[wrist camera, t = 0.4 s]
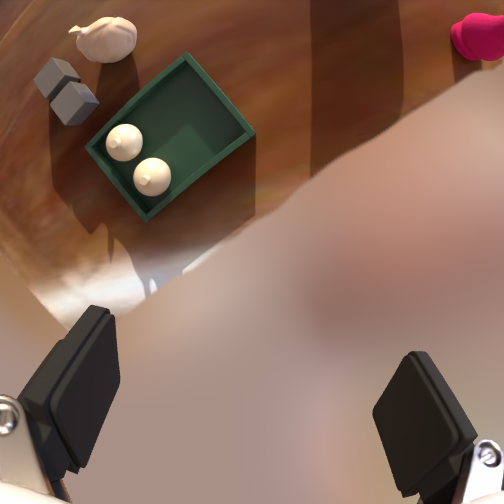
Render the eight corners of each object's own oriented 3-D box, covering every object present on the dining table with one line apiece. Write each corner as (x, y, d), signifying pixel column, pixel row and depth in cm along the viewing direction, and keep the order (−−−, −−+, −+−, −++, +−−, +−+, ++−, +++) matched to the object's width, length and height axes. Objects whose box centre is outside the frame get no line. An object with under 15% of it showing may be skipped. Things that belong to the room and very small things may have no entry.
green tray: (191, 56, 30) (187, 51, 28) (256, 133, 34) (256, 133, 32) (93, 145, 34) (83, 147, 32) (151, 217, 38) (145, 223, 35)
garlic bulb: (122, 16, 28) (96, -5, 20) (152, 40, 29) (129, 20, 22) (88, 53, 29) (55, 41, 22) (115, 78, 31) (85, 68, 23)
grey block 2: (85, 84, 31) (69, 80, 27) (100, 103, 32) (85, 101, 28) (65, 105, 32) (49, 104, 28) (80, 125, 33) (64, 125, 29)
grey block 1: (67, 61, 29) (51, 57, 26) (81, 78, 30) (65, 75, 27) (49, 82, 30) (32, 80, 26) (61, 100, 31) (45, 98, 28)
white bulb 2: (159, 149, 34) (145, 151, 29) (182, 176, 35) (171, 183, 30) (134, 172, 35) (117, 179, 30) (156, 199, 36) (142, 209, 31)
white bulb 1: (133, 116, 32) (115, 115, 27) (154, 142, 34) (139, 144, 29) (109, 141, 33) (89, 143, 28) (129, 166, 35) (111, 172, 30)
